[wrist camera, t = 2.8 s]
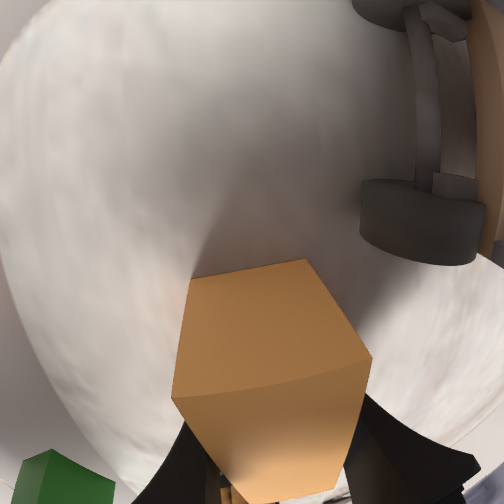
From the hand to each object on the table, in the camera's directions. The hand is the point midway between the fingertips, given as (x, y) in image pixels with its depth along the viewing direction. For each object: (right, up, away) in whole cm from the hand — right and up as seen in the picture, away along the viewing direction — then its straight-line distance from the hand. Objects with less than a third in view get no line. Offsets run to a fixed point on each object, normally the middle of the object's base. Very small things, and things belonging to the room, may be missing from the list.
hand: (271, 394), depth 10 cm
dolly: (+10, +11, -2) cm, 16 cm away
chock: (0, +1, +1) cm, 1 cm away
